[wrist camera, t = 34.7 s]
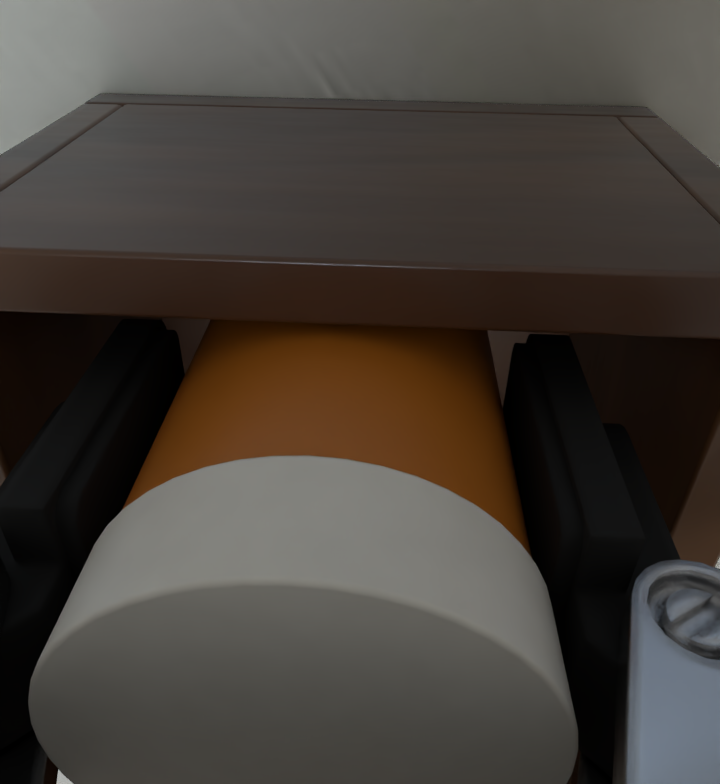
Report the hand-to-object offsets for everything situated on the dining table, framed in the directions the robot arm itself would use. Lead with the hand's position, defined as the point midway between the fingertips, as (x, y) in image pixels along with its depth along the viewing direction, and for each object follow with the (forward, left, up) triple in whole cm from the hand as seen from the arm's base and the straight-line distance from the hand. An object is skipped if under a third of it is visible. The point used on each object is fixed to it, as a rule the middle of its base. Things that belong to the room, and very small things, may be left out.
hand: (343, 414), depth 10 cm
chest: (+3, 0, -6) cm, 6 cm away
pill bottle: (0, 0, -3) cm, 3 cm away
